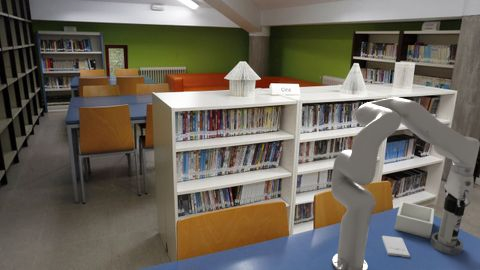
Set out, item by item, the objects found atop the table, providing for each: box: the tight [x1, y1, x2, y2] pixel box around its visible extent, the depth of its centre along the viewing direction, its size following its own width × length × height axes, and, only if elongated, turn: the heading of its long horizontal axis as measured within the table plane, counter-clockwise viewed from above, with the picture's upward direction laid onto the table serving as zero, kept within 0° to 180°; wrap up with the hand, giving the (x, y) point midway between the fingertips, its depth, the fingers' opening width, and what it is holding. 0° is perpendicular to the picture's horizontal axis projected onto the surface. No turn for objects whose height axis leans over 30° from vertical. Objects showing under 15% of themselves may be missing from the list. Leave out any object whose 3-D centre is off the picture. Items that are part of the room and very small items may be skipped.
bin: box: [394, 200, 435, 240], centre depth 160 cm, size 16×14×7 cm
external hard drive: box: [381, 235, 411, 258], centre depth 144 cm, size 2×8×12 cm
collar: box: [430, 232, 464, 256], centre depth 145 cm, size 11×11×3 cm
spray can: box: [437, 195, 463, 247], centre depth 142 cm, size 7×7×20 cm
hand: (453, 210), depth 141 cm, fingers closed on spray can, 6 cm apart
